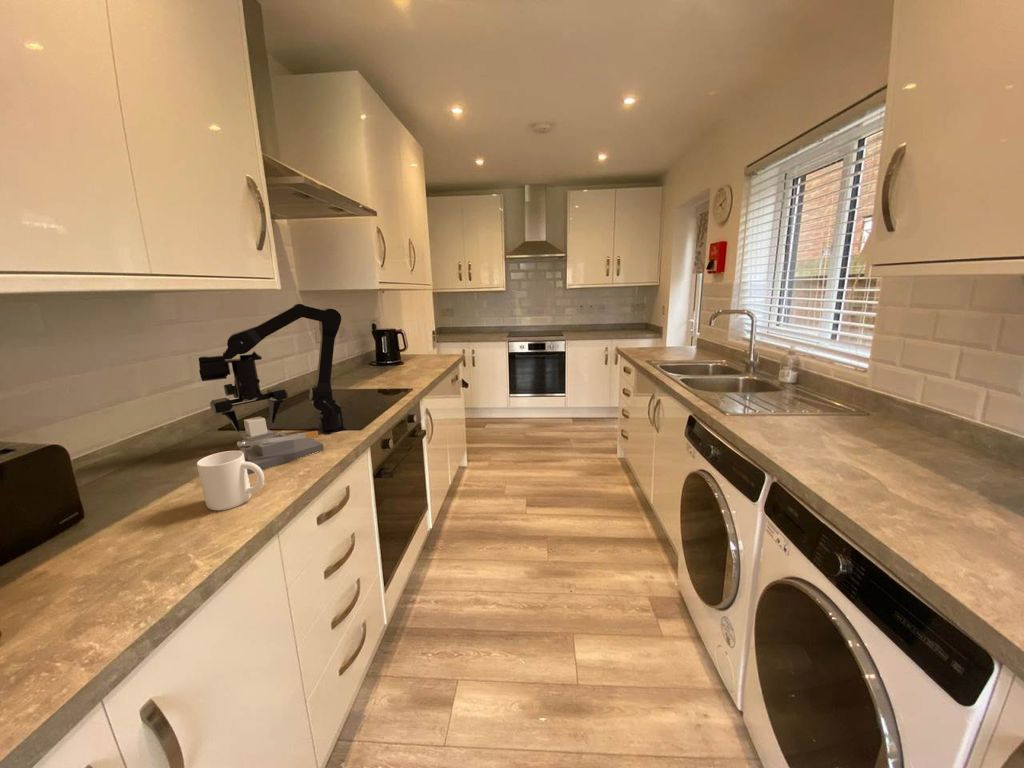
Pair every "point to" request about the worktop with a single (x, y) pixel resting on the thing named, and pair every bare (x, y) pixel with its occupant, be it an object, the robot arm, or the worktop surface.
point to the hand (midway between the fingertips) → (255, 427)
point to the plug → (255, 429)
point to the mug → (227, 479)
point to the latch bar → (277, 439)
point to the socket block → (279, 451)
